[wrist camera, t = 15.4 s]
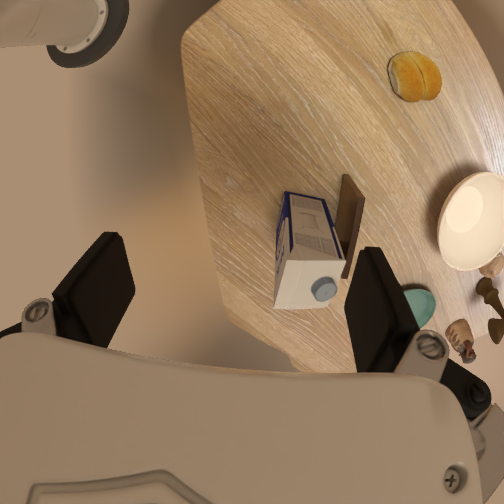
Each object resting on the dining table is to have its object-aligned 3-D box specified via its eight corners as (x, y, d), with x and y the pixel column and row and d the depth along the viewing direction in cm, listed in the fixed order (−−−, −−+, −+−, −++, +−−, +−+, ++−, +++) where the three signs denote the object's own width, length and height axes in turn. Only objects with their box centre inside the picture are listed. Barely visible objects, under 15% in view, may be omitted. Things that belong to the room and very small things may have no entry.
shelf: (281, 240, 50) (281, 275, 42) (286, 169, 43) (288, 191, 35) (337, 244, 49) (347, 279, 41) (348, 174, 42) (365, 198, 34)
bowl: (508, 198, 39) (527, 213, 33) (457, 266, 49) (471, 285, 43) (462, 138, 36) (484, 148, 30) (403, 221, 46) (418, 241, 40)
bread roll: (440, 98, 33) (452, 100, 29) (395, 103, 35) (405, 105, 32) (428, 50, 29) (440, 49, 25) (381, 54, 31) (390, 51, 28)
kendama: (468, 283, 51) (505, 347, 35) (497, 267, 48) (537, 325, 31) (468, 300, 54) (501, 361, 37) (496, 284, 51) (532, 341, 34)
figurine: (443, 339, 62) (457, 373, 52) (447, 323, 59) (463, 359, 48) (464, 331, 60) (479, 364, 50) (468, 315, 57) (486, 348, 47)
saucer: (403, 335, 61) (406, 343, 59) (360, 319, 59) (363, 328, 57) (443, 294, 54) (447, 301, 51) (402, 272, 51) (406, 280, 49)
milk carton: (284, 189, 45) (287, 260, 28) (325, 198, 45) (350, 271, 28) (276, 227, 49) (272, 310, 32) (314, 235, 49) (328, 319, 32)
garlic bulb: (486, 239, 45) (505, 259, 38) (499, 249, 46) (516, 269, 39) (470, 262, 48) (487, 285, 42) (483, 271, 49) (499, 292, 42)
